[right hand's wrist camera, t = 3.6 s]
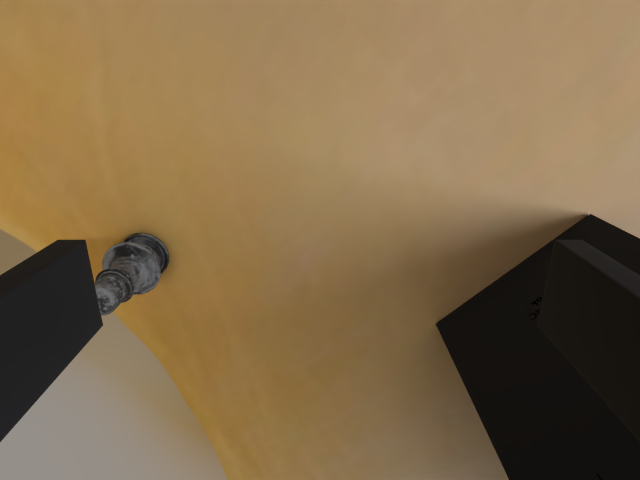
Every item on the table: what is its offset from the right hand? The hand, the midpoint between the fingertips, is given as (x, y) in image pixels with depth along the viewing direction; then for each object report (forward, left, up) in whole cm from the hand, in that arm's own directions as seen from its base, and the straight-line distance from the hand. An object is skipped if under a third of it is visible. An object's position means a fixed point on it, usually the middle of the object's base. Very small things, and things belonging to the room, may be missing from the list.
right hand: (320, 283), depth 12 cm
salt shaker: (+13, -19, -33) cm, 40 cm away
